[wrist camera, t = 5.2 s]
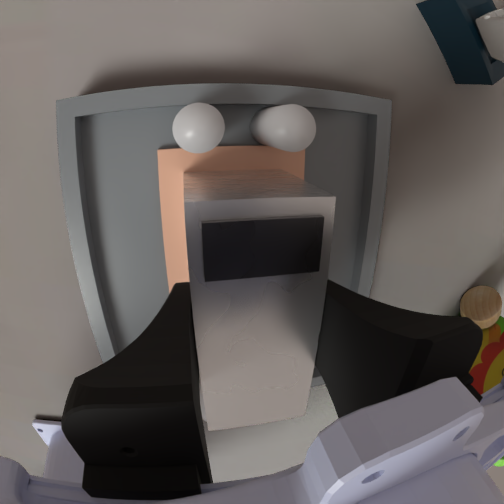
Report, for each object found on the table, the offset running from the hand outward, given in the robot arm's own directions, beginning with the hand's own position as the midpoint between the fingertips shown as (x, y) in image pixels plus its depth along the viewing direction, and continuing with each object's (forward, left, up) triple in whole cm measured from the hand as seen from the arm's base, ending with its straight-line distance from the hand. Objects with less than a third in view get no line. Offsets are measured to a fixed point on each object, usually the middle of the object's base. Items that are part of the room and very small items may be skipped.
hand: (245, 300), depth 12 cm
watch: (+14, -14, -4) cm, 20 cm away
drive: (0, 0, -2) cm, 2 cm away
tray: (0, 0, -4) cm, 4 cm away
